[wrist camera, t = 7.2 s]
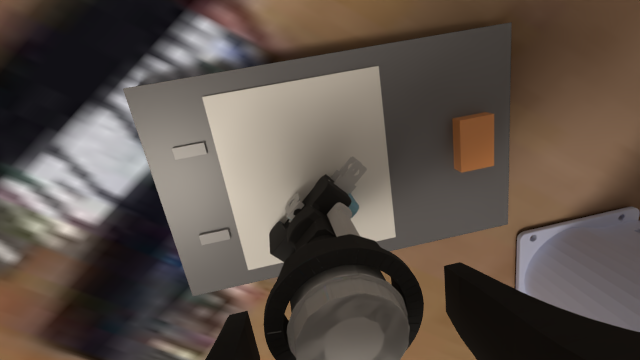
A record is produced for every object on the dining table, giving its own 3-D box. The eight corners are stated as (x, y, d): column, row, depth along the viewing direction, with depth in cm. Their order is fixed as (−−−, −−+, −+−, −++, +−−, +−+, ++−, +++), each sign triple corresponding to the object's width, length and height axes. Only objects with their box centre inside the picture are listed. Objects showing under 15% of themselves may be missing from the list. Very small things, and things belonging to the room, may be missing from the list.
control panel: (488, 26, 21) (521, 20, 18) (489, 211, 24) (516, 229, 22) (137, 86, 19) (116, 89, 16) (198, 276, 23) (190, 304, 20)
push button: (319, 128, 19) (376, 193, 9) (389, 185, 20) (500, 289, 11) (244, 223, 20) (227, 369, 10) (317, 269, 21) (361, 431, 12)
